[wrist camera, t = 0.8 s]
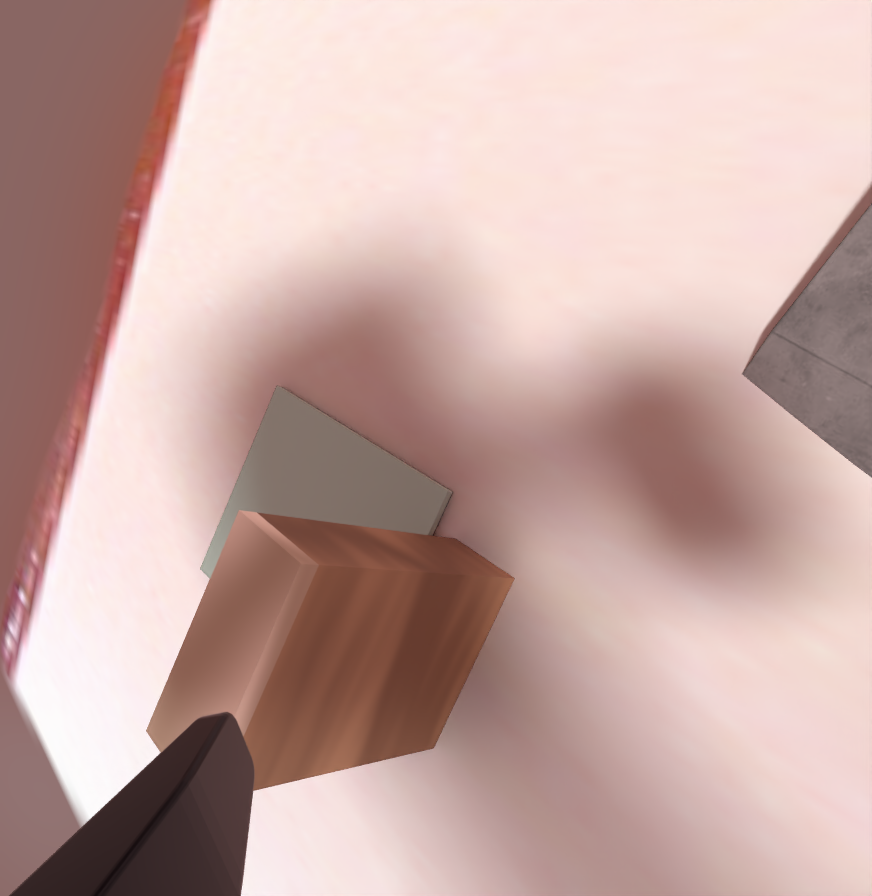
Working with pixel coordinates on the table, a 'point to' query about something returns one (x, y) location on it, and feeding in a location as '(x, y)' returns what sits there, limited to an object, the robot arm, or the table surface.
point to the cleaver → (828, 351)
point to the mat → (326, 477)
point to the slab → (331, 643)
